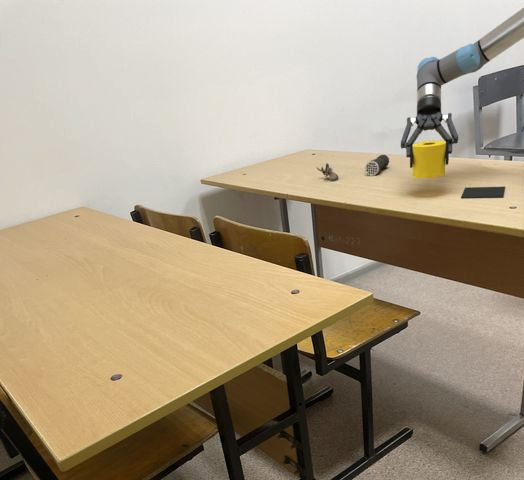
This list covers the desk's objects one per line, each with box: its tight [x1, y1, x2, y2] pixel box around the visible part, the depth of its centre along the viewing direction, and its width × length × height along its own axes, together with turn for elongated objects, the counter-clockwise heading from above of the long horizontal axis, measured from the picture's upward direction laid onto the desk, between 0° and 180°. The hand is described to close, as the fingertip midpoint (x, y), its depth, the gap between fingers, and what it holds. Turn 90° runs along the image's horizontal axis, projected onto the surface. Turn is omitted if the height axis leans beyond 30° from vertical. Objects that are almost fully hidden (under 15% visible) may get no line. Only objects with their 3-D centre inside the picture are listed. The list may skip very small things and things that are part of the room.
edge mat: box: [460, 186, 506, 199], centre depth 166 cm, size 12×12×1 cm
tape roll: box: [411, 140, 446, 179], centre depth 168 cm, size 10×10×9 cm
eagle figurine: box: [316, 163, 339, 182], centre depth 209 cm, size 8×7×9 cm
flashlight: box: [364, 154, 390, 177], centre depth 211 cm, size 15×5×5 cm, turn 152°
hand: (429, 163), depth 166 cm, fingers closed on tape roll, 10 cm apart
